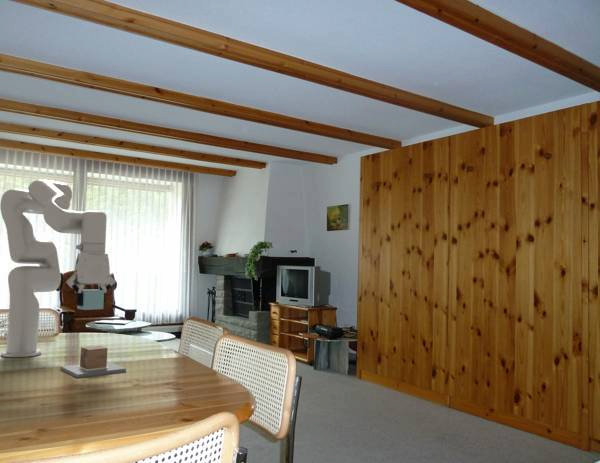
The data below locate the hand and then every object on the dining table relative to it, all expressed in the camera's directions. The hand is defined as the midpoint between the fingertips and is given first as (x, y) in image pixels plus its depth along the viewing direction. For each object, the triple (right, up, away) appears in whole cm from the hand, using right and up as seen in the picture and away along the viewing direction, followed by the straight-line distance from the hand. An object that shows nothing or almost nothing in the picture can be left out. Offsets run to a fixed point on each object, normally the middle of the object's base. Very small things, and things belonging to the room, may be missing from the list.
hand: (90, 304), depth 165 cm
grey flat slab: (+2, -20, -3) cm, 21 cm away
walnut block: (+2, -19, -3) cm, 19 cm away
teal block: (0, -1, 0) cm, 1 cm away
